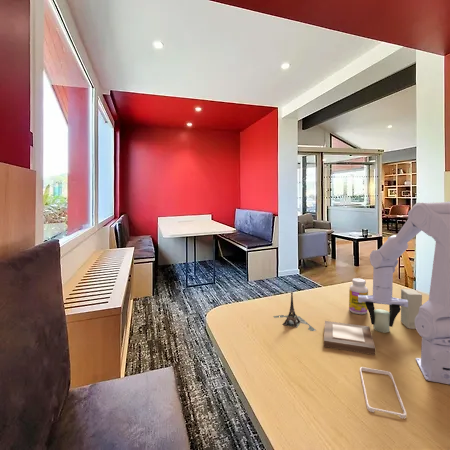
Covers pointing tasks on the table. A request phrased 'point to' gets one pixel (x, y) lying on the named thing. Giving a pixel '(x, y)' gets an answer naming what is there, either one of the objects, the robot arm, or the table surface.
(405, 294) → the skincare box
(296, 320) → the eiffel tower figurine
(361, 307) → the supplement bottle
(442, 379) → the robot arm
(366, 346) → the walnut base
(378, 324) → the sage cylinder
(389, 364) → the table surface
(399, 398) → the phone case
